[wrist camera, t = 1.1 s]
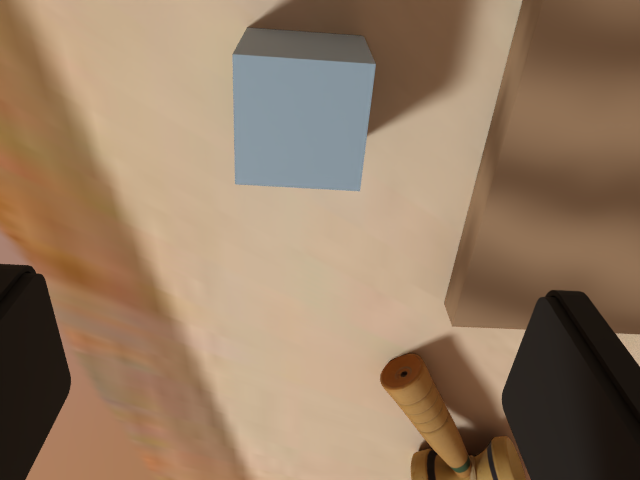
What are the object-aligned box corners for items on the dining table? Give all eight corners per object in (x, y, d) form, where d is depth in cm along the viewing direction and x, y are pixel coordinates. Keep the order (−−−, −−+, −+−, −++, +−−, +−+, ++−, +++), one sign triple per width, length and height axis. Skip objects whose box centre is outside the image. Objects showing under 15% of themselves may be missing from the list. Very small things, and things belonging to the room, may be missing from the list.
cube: (247, 27, 22) (232, 54, 18) (363, 35, 22) (375, 64, 18) (248, 137, 25) (235, 184, 20) (351, 144, 25) (359, 191, 21)
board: (534, -45, 21) (554, -41, 19) (861, -17, 21) (909, -12, 20) (444, 303, 30) (452, 326, 29) (672, 313, 31) (692, 336, 29)
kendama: (335, 369, 35) (447, 525, 41) (350, 433, 29) (478, 604, 35) (434, 312, 34) (533, 479, 41) (470, 366, 28) (579, 552, 35)
